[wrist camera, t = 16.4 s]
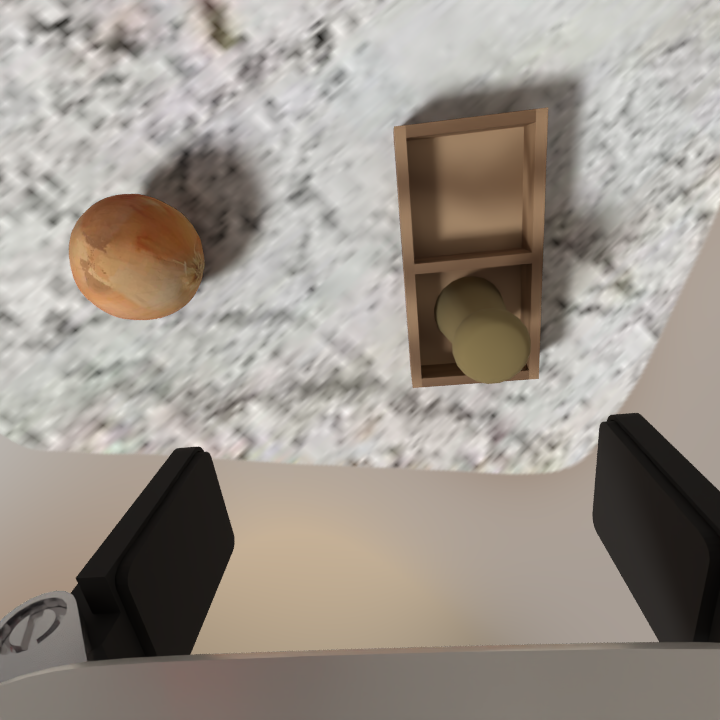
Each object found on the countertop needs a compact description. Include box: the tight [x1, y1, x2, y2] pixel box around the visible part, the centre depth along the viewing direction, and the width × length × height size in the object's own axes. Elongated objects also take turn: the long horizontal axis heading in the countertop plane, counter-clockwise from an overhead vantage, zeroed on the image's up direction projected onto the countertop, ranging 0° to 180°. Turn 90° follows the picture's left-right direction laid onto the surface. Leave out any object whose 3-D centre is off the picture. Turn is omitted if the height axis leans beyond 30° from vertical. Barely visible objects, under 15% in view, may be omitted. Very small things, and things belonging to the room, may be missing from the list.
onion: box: [69, 194, 205, 320], centre depth 36 cm, size 10×10×10 cm
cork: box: [434, 276, 531, 384], centre depth 35 cm, size 6×6×11 cm
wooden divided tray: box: [393, 108, 548, 388], centre depth 38 cm, size 20×11×4 cm, turn 6°
